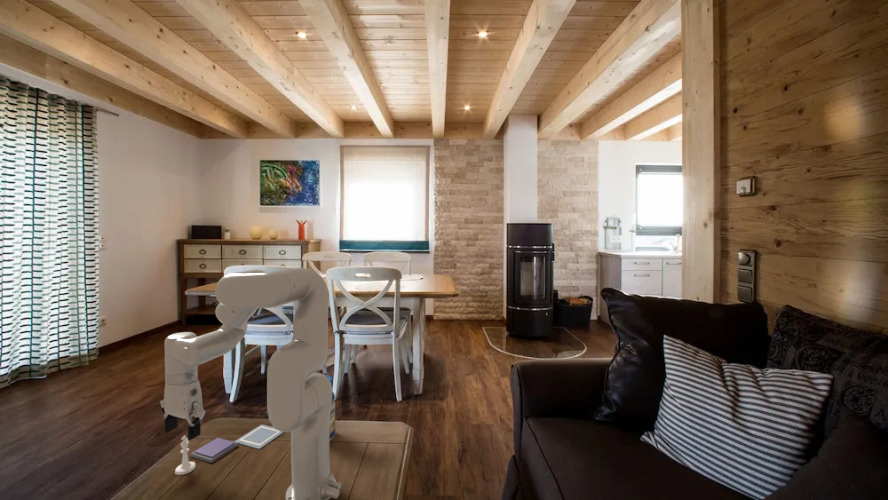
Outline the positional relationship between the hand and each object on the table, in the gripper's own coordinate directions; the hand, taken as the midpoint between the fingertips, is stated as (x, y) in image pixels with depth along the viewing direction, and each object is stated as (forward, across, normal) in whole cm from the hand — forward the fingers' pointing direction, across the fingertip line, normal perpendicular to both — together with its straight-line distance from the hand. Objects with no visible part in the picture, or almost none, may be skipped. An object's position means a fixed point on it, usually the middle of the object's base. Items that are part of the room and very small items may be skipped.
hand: (182, 433), depth 102 cm
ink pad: (+11, -1, -9) cm, 14 cm away
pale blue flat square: (+10, -8, -20) cm, 24 cm away
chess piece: (+11, -1, 0) cm, 11 cm away
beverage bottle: (+10, -28, -27) cm, 40 cm away
